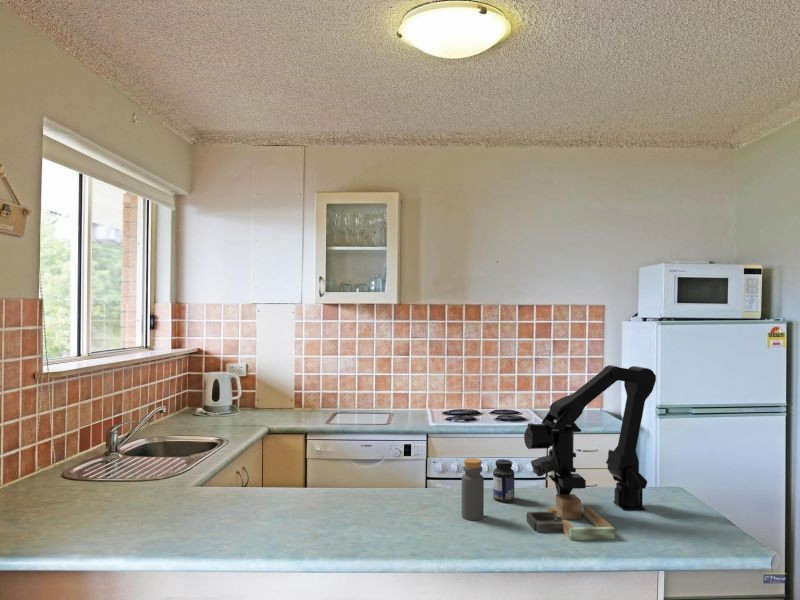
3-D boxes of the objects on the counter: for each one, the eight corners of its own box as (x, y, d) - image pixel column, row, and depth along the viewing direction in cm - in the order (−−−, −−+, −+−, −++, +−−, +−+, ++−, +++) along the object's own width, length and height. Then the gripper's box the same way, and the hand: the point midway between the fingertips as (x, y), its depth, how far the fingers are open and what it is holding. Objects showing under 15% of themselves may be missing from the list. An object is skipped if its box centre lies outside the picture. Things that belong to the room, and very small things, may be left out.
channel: (587, 514, 154) (587, 505, 154) (614, 538, 138) (614, 528, 138) (522, 516, 152) (522, 506, 152) (542, 540, 136) (542, 530, 136)
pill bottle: (513, 496, 168) (513, 458, 168) (515, 503, 162) (515, 464, 162) (492, 495, 169) (492, 458, 169) (493, 502, 163) (493, 463, 163)
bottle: (458, 518, 150) (458, 461, 151) (466, 511, 156) (466, 456, 156) (479, 522, 148) (479, 464, 148) (486, 514, 153) (486, 459, 153)
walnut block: (573, 512, 155) (573, 494, 155) (580, 519, 150) (580, 500, 150) (555, 512, 155) (555, 494, 155) (562, 519, 150) (562, 500, 150)
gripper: (524, 439, 166) (523, 493, 166) (545, 456, 147) (544, 517, 147) (561, 439, 167) (561, 492, 167) (586, 456, 148) (586, 516, 148)
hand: (562, 504), depth 157 cm, fingers closed
